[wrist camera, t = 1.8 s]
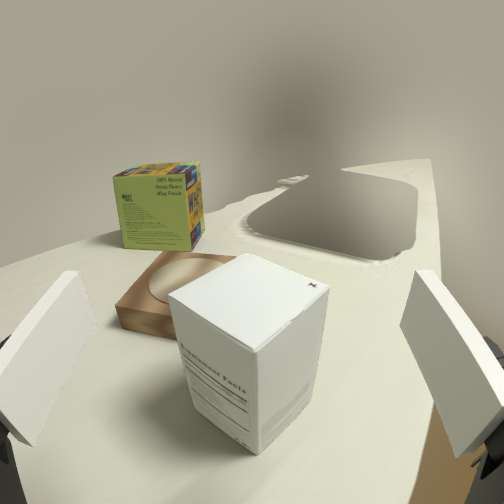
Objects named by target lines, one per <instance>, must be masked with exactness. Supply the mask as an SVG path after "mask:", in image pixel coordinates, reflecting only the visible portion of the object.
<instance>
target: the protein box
mask: <svg viewBox="0 0 504 504" xmlns="http://www.w3.org/2000/svg"><path fill="white" fill-rule="evenodd" d="M113 183H114V191H115V197H116V204H117V210H118V217H119V222H120V228H121V234H122V239H123V245H124V248H129V249H149V250H168V251H189V252H191V251H192V250H193V248H194V247H195V245H196V243H197V242H198V240H199V239H200V237H201V236H202V234H203V232H204V231H205V226H204V215H203V203H202V190H201V173H200V162H184V163H183V162H182V163H161V164H144V165H136V166H134V167H131V168H129V169H128V170H125V171H123V172H122V173H120V174H117V175H115V176H114V177H113Z"/></svg>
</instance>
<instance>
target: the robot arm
mask: <svg viewBox="0 0 504 504" xmlns="http://www.w3.org/2000/svg"><path fill="white" fill-rule="evenodd" d="M96 326H97V322H96V320H95V317H94V314H93V311H92V309H91V306H90V303H89V300H88V297H87V294H86V291H85V288H84V285H83V281H82V278H81V275H80V272H79V271H64V272H63V274H62V275H61V276H60V277H59V278H58V279H57V280H56V281H55V282H54V284H53V285H52V286H51V287H50V288H49V289H48V290H47V292H46V293H45V294H44V295H43V296H42V297H41V299H40V300H39V301H38V302H37V303H36V305H35V306H34V307H33V308H32V309H31V311H30V312H29V313H28V314H27V316H26V317H25V318H24V319H23V321H22V322H21V323H20V324H19V326H18V327H17V328H16V330H15V331H14V332H13V333H12V334H11V335H10V336H8V337H7V338H6V339H5V340H3V341H2V342H1V343H0V504H27V501H26V498H25V495H24V492H23V489H22V485H21V482H20V478H19V475H18V471H17V467H16V463H15V459H14V454H13V450H12V445H11V442H10V440H9V438H8V437H7V435H8V433H9V432H10V433H11V434H12V435H13V436H14V437H15V438H16V439H17V440H18V441H20V442H22V443H24V444H27V445H29V446H31V447H34V446H35V444H36V442H37V439H38V437H39V435H40V433H41V431H42V428H43V426H44V424H45V422H46V420H47V418H48V416H49V414H50V412H51V409H52V407H53V405H54V403H55V401H56V399H57V397H58V395H59V393H60V391H61V389H62V388H63V386H64V384H65V382H66V380H67V378H68V376H69V374H70V372H71V370H72V369H73V367H74V365H75V363H76V361H77V359H78V358H79V356H80V354H81V352H82V350H83V349H84V347H85V345H86V343H87V341H88V340H89V338H90V336H91V335H92V333H93V331H94V329H95V328H96ZM400 328H401V330H402V332H403V334H404V336H405V338H406V340H407V342H408V344H409V346H410V348H411V350H412V353H413V355H414V357H415V359H416V361H417V363H418V365H419V368H420V370H421V372H422V374H423V377H424V379H425V381H426V383H427V386H428V388H429V390H430V393H431V395H432V397H433V400H434V402H435V404H436V407H437V409H438V412H439V414H440V417H441V419H442V422H443V424H444V427H445V430H446V432H447V434H448V437H449V440H450V443H451V446H452V448H453V451H454V454H455V457H456V458H460V457H462V456H465V455H468V454H470V453H473V452H475V451H476V450H477V449H478V448H479V447H480V446H481V445H482V444H483V443H485V446H486V448H487V449H486V450H485V451H484V452H483V453H482V454H481V455H480V456H479V457H478V458H476V459H475V460H474V461H473V463H472V465H471V467H474V466H475V465H476V464H477V463H478V462H479V461H480V463H479V466H478V467H477V472H476V475H475V478H474V481H473V483H472V486H471V488H470V491H469V494H468V496H467V499H466V501H465V503H464V504H504V354H503V353H502V351H501V350H500V348H499V347H498V345H497V344H495V343H494V342H493V341H492V340H491V339H489V338H488V337H487V336H486V337H482V336H481V335H480V334H479V332H478V330H477V329H476V328H475V326H474V325H473V323H472V322H471V321H470V319H469V318H468V316H467V315H466V314H465V312H464V311H463V309H462V308H461V307H460V305H459V304H458V303H457V302H456V300H455V299H454V298H453V296H452V295H451V294H450V292H449V291H448V290H447V288H446V287H445V286H444V285H443V283H442V282H441V281H440V279H439V278H438V277H437V276H436V274H435V273H434V272H433V271H432V270H415V274H414V278H413V281H412V285H411V289H410V292H409V296H408V299H407V303H406V306H405V310H404V313H403V316H402V319H401V323H400Z"/></svg>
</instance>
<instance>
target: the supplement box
mask: <svg viewBox="0 0 504 504" xmlns="http://www.w3.org/2000/svg"><path fill="white" fill-rule="evenodd" d="M328 295H329V286H328V285H327V284H324V283H321V282H319V281H316V280H313V279H311V278H308V277H306V276H303V275H301V274H298V273H296V272H293V271H290V270H288V269H286V268H283V267H281V266H278V265H276V264H274V263H272V262H269V261H267V260H265V259H263V258H260V257H258V256H255V255H252V254H249V253H246V252H245V253H244V254H242V255H240V256H238V257H236V258H235V259H233V260H231V261H229V262H227V263H225V264H224V265H222V266H220V267H218V268H216V269H214V270H213V271H211V272H209V273H207V274H205V275H203V276H201V277H200V278H198V279H196V280H194V281H192V282H190V283H188V284H187V285H185V286H183V287H181V288H179V289H177V290H175V291H173V292H171V293H169V294H168V300H169V305H170V310H171V315H172V319H173V324H174V328H175V333H176V337H177V341H178V346H179V350H180V354H181V359H182V363H183V367H184V371H185V375H186V379H187V382H188V386H189V390H190V394H191V397H192V401H193V405H194V408H195V409H196V410H197V411H198V412H199V413H201V414H202V415H203V416H204V417H206V418H207V419H208V420H209V421H211V422H212V423H213V424H214V425H216V426H217V427H218V428H220V429H221V430H222V431H223V432H225V433H226V434H227V435H229V436H230V437H231V438H233V439H234V440H236V441H237V442H238V443H240V444H241V445H242V446H244V447H245V448H247V449H248V450H249V451H251V452H252V453H254V454H255V455H259V454H260V453H261V452H262V451H263V450H264V449H265V448H266V447H267V446H268V445H269V444H270V443H271V442H272V441H273V440H274V439H275V438H276V437H277V436H278V435H279V434H280V433H281V432H282V431H283V430H284V429H285V428H286V427H287V426H288V425H289V424H290V423H291V422H292V421H293V420H294V419H295V418H296V416H297V415H298V414H299V413H300V412H301V411H302V410H303V409H304V408H305V407H306V405H307V404H308V403H309V402H310V401H311V397H312V392H313V387H314V382H315V377H316V372H317V366H318V360H319V354H320V349H321V343H322V336H323V330H324V323H325V317H326V310H327V302H328Z"/></svg>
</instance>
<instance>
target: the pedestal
mask: <svg viewBox="0 0 504 504" xmlns="http://www.w3.org/2000/svg"><path fill="white" fill-rule="evenodd" d="M235 258H236V256H224V255H213V254H201V253H190V252H179V251H168V250H164V251H163V252H162V253H161V254H160V255H159V256H158V257H157V258H156V259H155V260H154V262H153V263H152V264H151V265H150V266H149V267H148V268H147V269H146V270H145V272H144V273H143V274H142V275H141V276H140V277H139V278H138V279H137V281H136V282H135V283H134V284H133V285H132V286H131V287H130V289H129V290H128V291H127V292H126V293H125V294H124V295H123V297H122V298H121V299H120V300H119V301H118V302H117V304H116V305H115V307H116V311H117V314H118V317H119V320H120V323H121V326H122V328H123V329H127V330H132V331H136V332H141V333H146V334H150V335H155V336H160V337H165V338H170V339H176V340H177V337H176V333H175V328H174V324H173V319H172V315H171V310H170V305H169V300H168V294H169V293H171V292H173V291H175V290H177V289H179V288H181V287H183V286H185V285H187V284H188V283H190V282H192V281H194V280H196V279H198V278H200V277H201V276H203V275H205V274H207V273H209V272H211V271H213V270H214V269H216V268H218V267H220V266H222V265H224V264H225V263H227V262H229V261H231V260H233V259H235Z"/></svg>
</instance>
